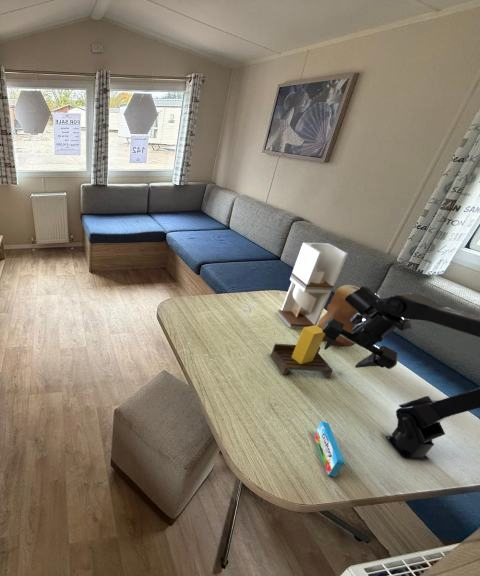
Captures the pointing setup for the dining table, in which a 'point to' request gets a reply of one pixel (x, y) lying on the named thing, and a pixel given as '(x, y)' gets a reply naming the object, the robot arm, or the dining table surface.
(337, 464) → the blue food box
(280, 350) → the rack
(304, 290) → the white cubby shelf
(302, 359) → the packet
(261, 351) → the dining table surface
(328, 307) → the butternut squash
